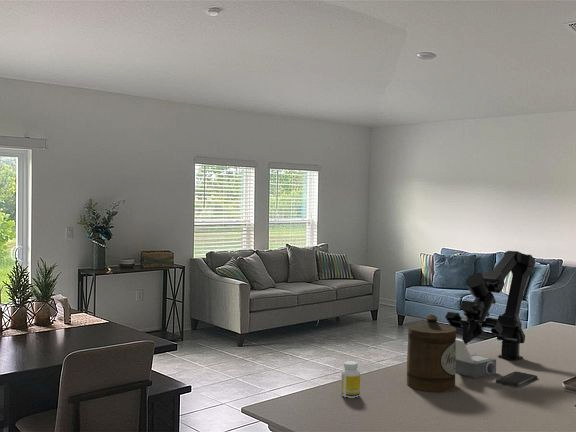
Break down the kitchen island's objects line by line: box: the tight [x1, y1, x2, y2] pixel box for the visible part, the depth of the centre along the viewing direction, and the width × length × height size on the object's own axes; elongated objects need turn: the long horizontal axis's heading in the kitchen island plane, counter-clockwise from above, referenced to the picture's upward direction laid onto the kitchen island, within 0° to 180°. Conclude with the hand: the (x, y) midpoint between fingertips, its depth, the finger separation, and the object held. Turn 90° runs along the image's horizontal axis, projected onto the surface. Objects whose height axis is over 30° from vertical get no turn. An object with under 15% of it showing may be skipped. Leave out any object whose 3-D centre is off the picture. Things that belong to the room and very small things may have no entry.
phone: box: [495, 371, 538, 388], centre depth 199 cm, size 8×1×15 cm
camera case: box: [455, 353, 497, 379], centre depth 207 cm, size 11×9×5 cm
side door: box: [456, 337, 474, 365], centre depth 202 cm, size 10×8×1 cm
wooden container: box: [406, 314, 457, 393], centre depth 193 cm, size 15×15×22 cm
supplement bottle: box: [340, 360, 361, 399], centre depth 182 cm, size 5×5×10 cm
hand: (463, 343), depth 203 cm, fingers closed
